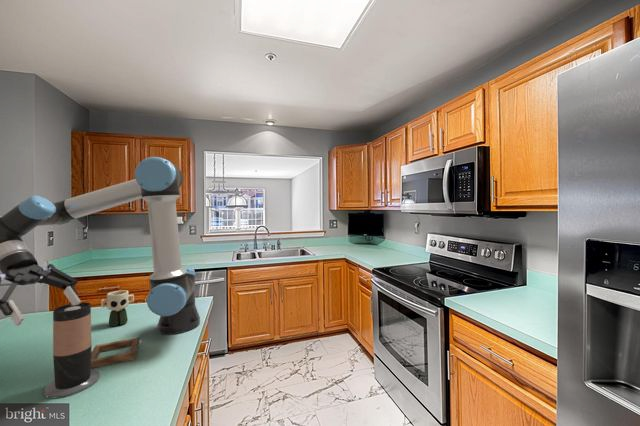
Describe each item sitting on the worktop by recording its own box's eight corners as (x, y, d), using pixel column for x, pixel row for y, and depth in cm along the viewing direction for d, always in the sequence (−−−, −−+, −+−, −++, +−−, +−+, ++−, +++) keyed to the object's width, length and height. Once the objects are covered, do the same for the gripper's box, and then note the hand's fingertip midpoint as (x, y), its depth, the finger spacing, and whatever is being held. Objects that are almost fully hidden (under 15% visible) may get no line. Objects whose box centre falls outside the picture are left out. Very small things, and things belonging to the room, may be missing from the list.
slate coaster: (103, 368, 81) (103, 365, 81) (94, 389, 72) (94, 386, 72) (53, 379, 76) (53, 376, 76) (36, 403, 67) (36, 400, 66)
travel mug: (69, 392, 69) (68, 313, 69) (45, 388, 71) (44, 310, 71) (99, 374, 77) (98, 303, 77) (77, 371, 79) (76, 301, 78)
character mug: (101, 330, 107) (101, 297, 106) (100, 325, 112) (100, 293, 112) (135, 323, 114) (135, 291, 113) (133, 318, 119) (132, 288, 119)
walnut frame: (138, 342, 97) (138, 337, 97) (134, 359, 86) (134, 352, 86) (95, 351, 91) (95, 345, 91) (85, 369, 81) (85, 362, 81)
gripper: (57, 259, 96) (91, 306, 92) (-56, 277, 72) (-17, 341, 68) (68, 244, 94) (102, 291, 91) (-44, 258, 70) (-4, 321, 67)
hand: (51, 312), depth 79 cm, fingers open, 13 cm apart
